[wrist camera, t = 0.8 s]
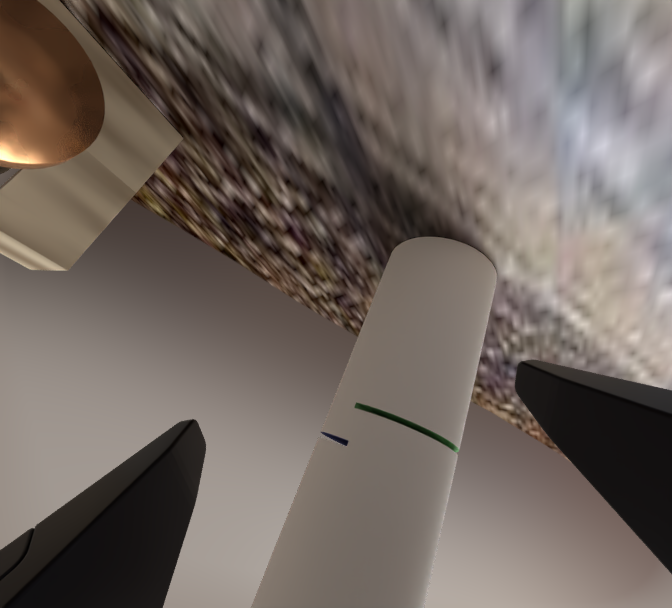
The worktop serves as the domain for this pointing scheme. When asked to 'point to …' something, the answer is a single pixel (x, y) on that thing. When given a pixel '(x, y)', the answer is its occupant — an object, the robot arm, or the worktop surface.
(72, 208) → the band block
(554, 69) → the worktop surface
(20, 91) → the peg
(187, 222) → the worktop surface
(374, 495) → the cylindrical container
